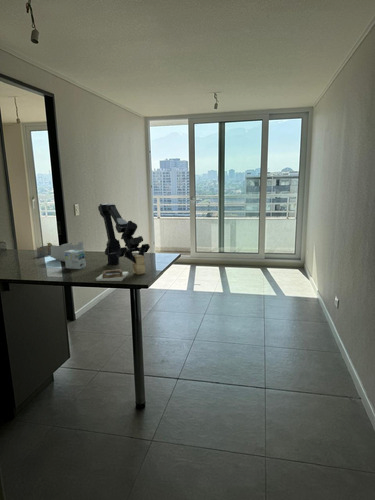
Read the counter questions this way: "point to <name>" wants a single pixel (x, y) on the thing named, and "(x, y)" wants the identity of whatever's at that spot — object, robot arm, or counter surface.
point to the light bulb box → (75, 259)
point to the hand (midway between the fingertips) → (139, 262)
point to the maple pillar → (139, 264)
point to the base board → (112, 278)
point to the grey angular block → (58, 251)
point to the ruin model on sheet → (44, 250)
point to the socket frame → (112, 273)
